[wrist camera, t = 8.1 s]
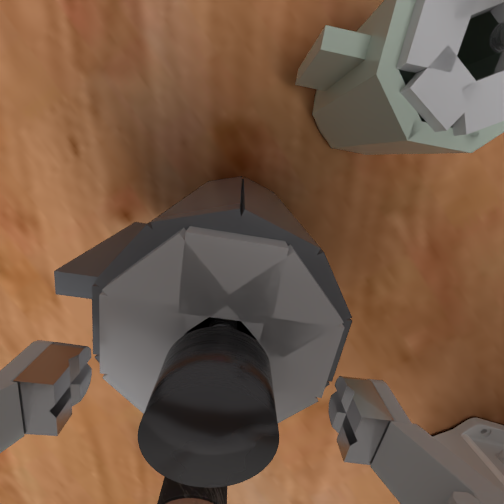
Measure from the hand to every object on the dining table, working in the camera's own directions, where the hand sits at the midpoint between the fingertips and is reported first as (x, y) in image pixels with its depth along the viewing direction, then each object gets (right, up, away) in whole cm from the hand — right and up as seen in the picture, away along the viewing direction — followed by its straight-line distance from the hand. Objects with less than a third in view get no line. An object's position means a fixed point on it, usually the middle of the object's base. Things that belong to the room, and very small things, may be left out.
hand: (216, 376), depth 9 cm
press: (-2, +7, +18) cm, 20 cm away
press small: (+9, +17, +15) cm, 25 cm away
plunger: (0, +4, +10) cm, 11 cm away
